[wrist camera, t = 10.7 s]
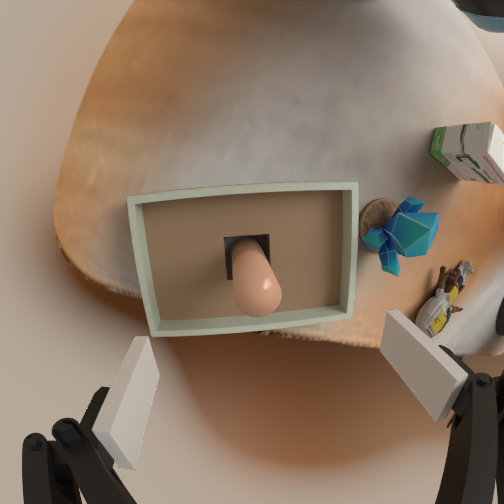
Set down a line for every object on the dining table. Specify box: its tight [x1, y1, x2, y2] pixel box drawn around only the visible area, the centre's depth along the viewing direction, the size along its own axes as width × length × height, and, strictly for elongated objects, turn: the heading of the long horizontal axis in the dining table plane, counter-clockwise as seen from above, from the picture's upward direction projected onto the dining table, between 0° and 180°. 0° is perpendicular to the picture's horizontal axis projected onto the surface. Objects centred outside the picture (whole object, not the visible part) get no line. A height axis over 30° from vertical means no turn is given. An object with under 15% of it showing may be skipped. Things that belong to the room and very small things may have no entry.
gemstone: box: [359, 196, 438, 277], centre depth 28 cm, size 7×9×12 cm
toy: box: [415, 260, 475, 338], centre depth 36 cm, size 12×5×15 cm
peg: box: [231, 237, 282, 317], centre depth 27 cm, size 4×4×13 cm
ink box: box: [430, 122, 504, 185], centre depth 26 cm, size 9×5×12 cm, turn 67°
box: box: [127, 181, 359, 337], centre depth 31 cm, size 16×24×5 cm, turn 93°
